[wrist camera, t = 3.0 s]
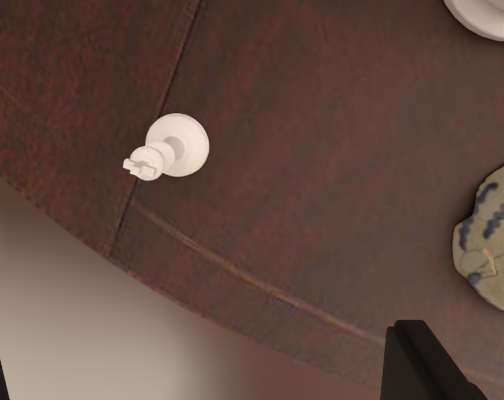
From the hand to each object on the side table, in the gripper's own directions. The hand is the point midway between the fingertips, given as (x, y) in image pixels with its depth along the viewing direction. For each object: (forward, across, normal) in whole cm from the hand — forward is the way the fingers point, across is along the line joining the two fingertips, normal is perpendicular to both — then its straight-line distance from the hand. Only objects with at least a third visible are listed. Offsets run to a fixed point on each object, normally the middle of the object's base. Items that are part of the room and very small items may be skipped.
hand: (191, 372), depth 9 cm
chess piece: (+22, +5, -3) cm, 22 cm away
